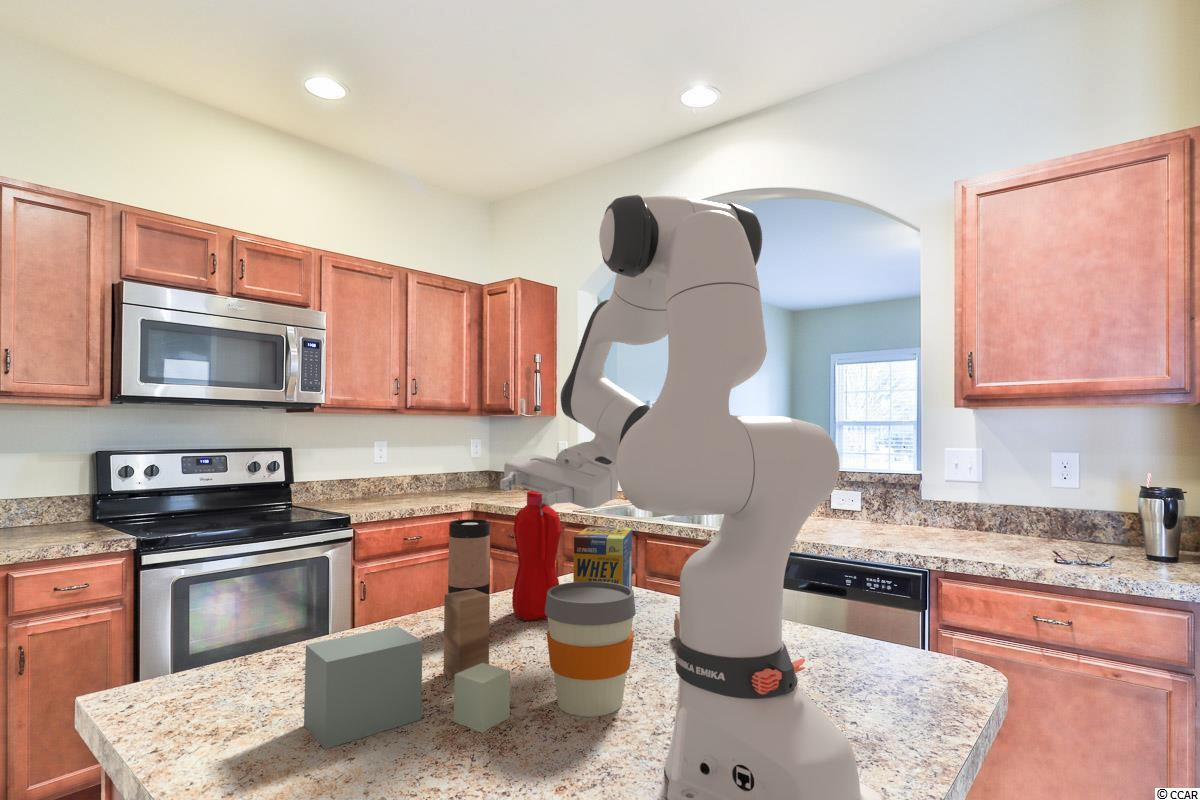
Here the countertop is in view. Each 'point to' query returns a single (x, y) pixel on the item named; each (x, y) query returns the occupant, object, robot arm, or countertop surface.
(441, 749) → the countertop surface
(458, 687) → the cube
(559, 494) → the robot arm
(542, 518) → the water bottle
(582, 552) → the protein box
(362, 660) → the base block
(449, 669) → the pillar
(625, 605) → the reusable coffee cup
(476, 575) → the travel mug
